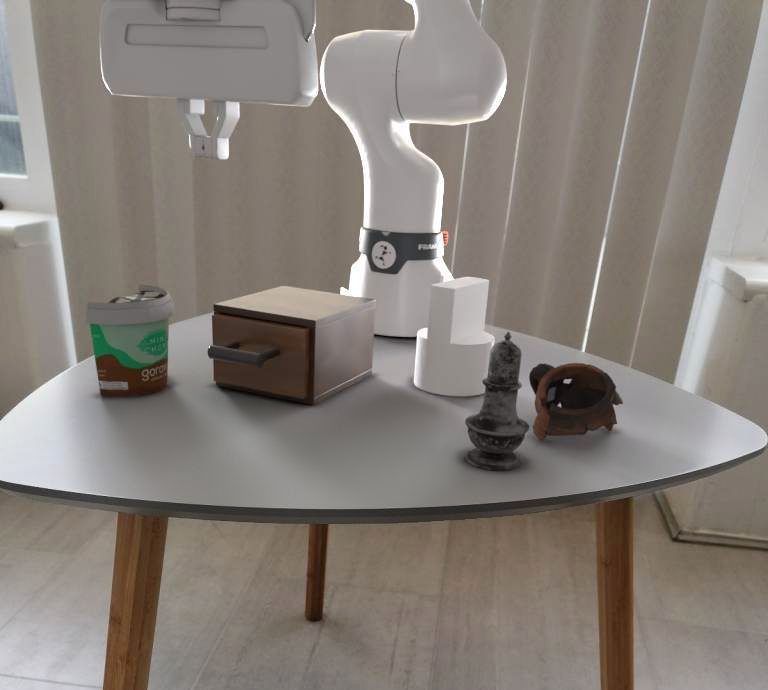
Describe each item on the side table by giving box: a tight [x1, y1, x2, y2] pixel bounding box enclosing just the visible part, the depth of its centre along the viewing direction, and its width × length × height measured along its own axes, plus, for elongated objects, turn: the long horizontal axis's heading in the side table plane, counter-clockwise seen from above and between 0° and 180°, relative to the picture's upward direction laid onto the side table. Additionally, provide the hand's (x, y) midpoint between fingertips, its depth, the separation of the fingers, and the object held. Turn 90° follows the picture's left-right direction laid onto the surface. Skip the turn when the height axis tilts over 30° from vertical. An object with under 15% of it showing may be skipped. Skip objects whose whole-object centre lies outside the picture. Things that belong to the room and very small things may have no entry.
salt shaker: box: [464, 331, 530, 472], centre depth 75 cm, size 6×6×12 cm
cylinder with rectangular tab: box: [413, 276, 496, 397], centre depth 97 cm, size 9×9×12 cm
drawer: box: [207, 313, 310, 399], centre depth 92 cm, size 18×11×7 cm, turn 155°
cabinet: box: [212, 285, 376, 406], centre depth 96 cm, size 15×13×9 cm
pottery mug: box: [528, 362, 624, 442], centre depth 85 cm, size 12×10×8 cm
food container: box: [85, 283, 176, 398], centre depth 90 cm, size 12×6×10 cm, turn 168°
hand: (209, 158), depth 74 cm, fingers closed
